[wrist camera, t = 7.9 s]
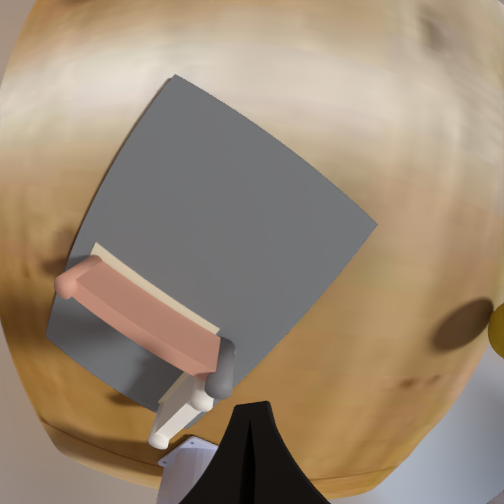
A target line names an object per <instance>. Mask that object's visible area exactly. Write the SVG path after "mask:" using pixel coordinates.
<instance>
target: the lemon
mask: <svg viewBox="0 0 504 504" xmlns="http://www.w3.org/2000/svg"><path fill="white" fill-rule="evenodd" d="M488 337H489V341H490V344H491V346H492V348H493V349H494V350H495V351H496V353H497V354H499V355H500V356H501V357H502V358H504V303H503V304H501V305H500V306H499V307H498V308H497V309H496V310H495V311H493V312H492V313H491V314H490V321H489V325H488Z"/></svg>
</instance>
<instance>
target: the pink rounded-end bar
mask: <svg viewBox="0 0 504 504" xmlns="http://www.w3.org/2000/svg"><path fill="white" fill-rule="evenodd" d="M54 287H55V290H56V292H57V294H58V295H59V296H60V297H61V298H63V299H69V298H70V297H71V296H72V297H73V298H74V299H76V300H77V301H78V302H79V303H81V304H82V305H83V306H85V307H86V308H87V309H89V310H90V311H91V312H92V313H94V314H95V315H97V316H98V317H99V318H101V319H102V320H103V321H105V322H106V323H108V324H109V325H110V326H112V327H113V328H115V329H116V330H118V331H119V332H121V333H122V334H123V335H125V336H126V337H128V338H130V339H131V340H133V341H134V342H136V343H137V344H139V345H140V346H142V347H144V348H145V349H147V350H148V351H150V352H152V353H153V354H155V355H157V356H158V357H160V358H162V359H163V360H165V361H167V362H168V363H170V364H172V365H174V366H175V367H177V368H179V369H181V370H183V371H185V372H186V373H188V374H190V375H192V376H194V377H196V378H198V379H200V380H202V381H203V382H205V387H204V390H205V393H206V394H207V395H208V396H209V397H211V398H214V399H226V398H228V397H229V396H230V395H231V394H232V387H233V371H234V356H235V345H234V343H233V342H232V341H230V340H229V339H225V338H220V337H218V336H217V335H215V334H213V333H212V332H210V331H208V330H206V329H205V328H203V327H201V326H200V325H198V324H196V323H195V322H193V321H191V320H190V319H188V318H186V317H185V316H183V315H182V314H180V313H178V312H177V311H175V310H174V309H172V308H170V307H169V306H167V305H166V304H164V303H163V302H161V301H160V300H158V299H157V298H155V297H154V296H152V295H151V294H149V293H148V292H146V291H145V290H143V289H142V288H140V287H139V286H137V285H136V284H134V283H133V282H132V281H130V280H129V279H127V278H126V277H124V276H123V275H122V274H120V273H119V272H117V271H116V270H115V269H113V268H112V267H111V266H109V265H108V264H106V263H105V262H104V261H103V260H102V259H101V258H100V257H99V256H97V255H92V256H90V257H88V258H87V259H85V260H83V261H82V262H80V263H78V264H77V265H75V266H74V267H72V268H70V269H69V270H67V271H66V272H64V273H63V274H61V275H59V276H58V277H56V278H55V281H54Z"/></svg>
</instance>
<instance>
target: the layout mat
mask: <svg viewBox="0 0 504 504" xmlns="http://www.w3.org/2000/svg"><path fill="white" fill-rule="evenodd" d="M377 225H378V224H377V223H376V222H375V221H374V220H373V219H372V218H371V217H370V216H369V215H368V214H366V213H365V212H364V211H363V210H362V209H361V208H360V207H359V206H358V205H357V204H356V203H354V202H353V201H352V200H351V199H350V198H349V197H348V196H347V195H346V194H344V193H343V192H342V191H341V190H340V189H339V188H337V187H336V186H335V185H334V184H333V183H332V182H330V181H329V180H328V179H327V178H326V177H324V176H323V175H322V174H321V173H320V172H318V171H317V170H316V169H315V168H314V167H312V166H311V165H310V164H309V163H307V162H306V161H305V160H303V159H302V158H301V157H300V156H298V155H297V154H296V153H294V152H293V151H292V150H291V149H289V148H288V147H287V146H285V145H284V144H283V143H281V142H280V141H279V140H277V139H276V138H274V137H273V136H272V135H270V134H269V133H268V132H266V131H265V130H263V129H262V128H261V127H259V126H258V125H256V124H255V123H253V122H252V121H250V120H249V119H248V118H246V117H245V116H243V115H242V114H240V113H239V112H237V111H236V110H234V109H232V108H231V107H229V106H228V105H226V104H225V103H223V102H222V101H220V100H218V99H217V98H215V97H214V96H212V95H210V94H209V93H207V92H205V91H204V90H202V89H200V88H199V87H197V86H195V85H194V84H192V83H190V82H188V81H187V80H185V79H183V78H181V77H179V76H178V75H176V74H175V75H174V76H173V77H172V78H171V80H170V81H169V82H168V83H167V85H166V86H165V87H164V88H163V90H162V91H161V92H160V94H159V95H158V96H157V98H156V99H155V100H154V102H153V103H152V104H151V106H150V107H149V109H148V110H147V111H146V113H145V114H144V116H143V117H142V119H141V120H140V121H139V123H138V124H137V126H136V127H135V129H134V130H133V132H132V134H131V135H130V137H129V138H128V140H127V141H126V143H125V145H124V146H123V148H122V150H121V151H120V153H119V155H118V156H117V158H116V160H115V161H114V163H113V165H112V167H111V168H110V170H109V172H108V174H107V176H106V177H105V179H104V181H103V183H102V185H101V187H100V189H99V191H98V193H97V195H96V197H95V199H94V201H93V203H92V205H91V207H90V209H89V211H88V213H87V215H86V218H85V220H84V222H83V224H82V227H81V229H80V231H79V234H78V236H77V238H76V241H75V243H74V246H73V248H72V251H71V253H70V256H69V259H68V261H67V264H66V267H65V270H64V272H66V271H67V270H69V269H70V268H72V267H74V266H75V265H77V264H78V263H80V262H82V261H83V260H85V259H87V258H88V257H90V256H92V255H97V256H99V257H100V258H101V259H102V260H103V261H104V262H105V263H106V264H108V265H109V266H111V267H112V268H113V269H115V270H116V271H117V272H119V273H120V274H122V275H123V276H124V277H126V278H127V279H129V280H130V281H132V282H133V283H134V284H136V285H137V286H139V287H140V288H142V289H143V290H145V291H146V292H148V293H149V294H151V295H152V296H154V297H155V298H157V299H158V300H160V301H161V302H163V303H164V304H166V305H167V306H169V307H170V308H172V309H174V310H175V311H177V312H178V313H180V314H182V315H183V316H185V317H186V318H188V319H190V320H191V321H193V322H195V323H196V324H198V325H200V326H201V327H203V328H205V329H206V330H208V331H210V332H212V333H213V334H215V335H217V336H218V337H220V338H225V339H229V340H230V341H232V342H233V343H234V345H235V356H234V371H233V387H232V389H233V388H234V387H235V386H236V385H237V384H238V383H239V382H240V381H241V380H242V379H243V378H244V377H245V376H246V375H247V374H248V373H249V372H250V371H251V370H252V369H253V368H254V367H255V366H256V365H257V364H258V363H259V362H260V361H261V360H262V359H263V358H264V357H265V356H266V355H267V354H268V353H269V352H270V351H271V350H272V349H273V348H274V347H275V346H276V345H277V344H278V343H279V342H280V341H281V340H282V339H283V337H284V336H285V335H286V334H287V333H288V332H289V331H290V330H291V329H292V328H293V327H294V326H295V324H296V323H297V322H298V321H299V320H300V319H301V318H302V317H303V316H304V315H305V313H306V312H307V311H308V310H309V309H310V308H311V307H312V305H313V304H314V303H315V302H316V301H317V300H318V299H319V297H320V296H321V295H322V294H323V293H324V292H325V290H326V289H327V288H328V287H329V286H330V284H331V283H332V282H333V281H334V280H335V278H336V277H337V276H338V275H339V274H340V272H341V271H342V270H343V269H344V267H345V266H346V265H347V264H348V263H349V261H350V260H351V259H352V257H353V256H354V255H355V254H356V252H357V251H358V250H359V249H360V247H361V246H362V245H363V243H364V242H365V241H366V239H367V238H368V237H369V236H370V234H371V233H372V232H373V230H374V229H375V228H376V226H377ZM64 272H63V273H64ZM45 337H47V338H48V339H49V340H50V341H51V342H52V343H53V344H55V345H56V346H57V347H58V348H59V349H61V350H62V351H63V352H64V353H65V354H67V355H68V356H69V357H70V358H72V359H73V360H74V361H76V362H77V363H78V364H80V365H81V366H82V367H84V368H85V369H86V370H88V371H89V372H90V373H92V374H93V375H95V376H96V377H97V378H99V379H100V380H102V381H103V382H105V383H106V384H108V385H109V386H111V387H112V388H114V389H115V390H117V391H119V392H120V393H122V394H123V395H125V396H127V397H128V398H130V399H132V400H133V401H135V402H137V403H138V404H140V405H142V406H144V407H145V408H147V409H149V410H151V411H153V412H154V413H156V417H155V420H154V423H153V426H152V429H151V432H150V435H149V439H148V443H149V444H150V445H151V446H153V447H155V448H158V449H166V448H167V447H168V443H169V439H171V438H172V437H173V436H174V435H175V434H176V433H178V432H179V431H180V430H181V429H182V428H183V427H184V428H186V429H188V428H189V427H191V426H192V425H193V424H194V423H195V422H196V421H198V420H199V419H200V418H201V417H202V416H203V415H204V414H206V413H207V412H208V411H209V410H211V409H212V407H213V406H214V405H216V404H217V403H218V402H219V401H220V400H221V399H214V398H211V397H209V396H208V395H207V394H206V393H205V390H204V387H205V382H203V381H202V380H200V379H198V378H196V377H194V376H192V375H190V374H188V373H186V372H185V371H183V370H181V369H179V368H177V367H175V366H174V365H172V364H170V363H168V362H167V361H165V360H163V359H162V358H160V357H158V356H157V355H155V354H153V353H152V352H150V351H148V350H147V349H145V348H144V347H142V346H140V345H139V344H137V343H136V342H134V341H133V340H131V339H130V338H128V337H126V336H125V335H123V334H122V333H121V332H119V331H118V330H116V329H115V328H113V327H112V326H110V325H109V324H108V323H106V322H105V321H103V320H102V319H101V318H99V317H98V316H97V315H95V314H94V313H92V312H91V311H90V310H89V309H87V308H86V307H85V306H83V305H82V304H81V303H79V302H78V301H77V300H76V299H74V298H73V297H72V296H71V297H70V298H69V299H63V298H61V297H60V296H59V295H58V294H56V297H55V300H54V304H53V307H52V311H51V315H50V318H49V322H48V326H47V330H46V335H45Z"/></svg>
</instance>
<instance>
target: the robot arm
mask: <svg viewBox="0 0 504 504" xmlns="http://www.w3.org/2000/svg"><path fill="white" fill-rule="evenodd" d="M158 465H160V466H162V467H164V471H163V475H162V479H161V484H160V488H159V493H158V497H157V504H331V503H329V502H328V501H327V500H326V498H325V497H324V496H323V495H322V494H321V493H320V492H319V491H318V490H317V489H316V488H315V487H314V486H313V484H312V483H311V482H310V481H309V479H308V478H307V477H306V476H305V474H304V473H303V472H302V470H301V469H300V468H299V466H298V465H297V463H296V462H295V460H294V459H293V457H292V455H291V454H290V452H289V451H288V449H287V447H286V445H285V443H284V441H283V440H282V438H281V436H280V433H279V431H278V429H277V427H276V424H275V420H274V416H273V412H272V408H271V404H270V402H268V401H262V402H255V403H248V404H240V405H236V406H235V407H234V409H233V413H232V416H231V419H230V421H229V424H228V427H227V429H226V431H225V434H224V436H223V438H222V440H221V442H220V445H219V446H218V445H215V444H213V443H210V442H208V441H205V440H203V439H200V438H198V437H195V436H191V437H189V438H188V439H187V440H185V441H184V442H183V443H182V444H180V445H179V446H178V447H176V448H175V449H174V450H172V451H171V452H170V453H168V454H167V455H166V456H164V457H163V458H162V459H160V460H159V461H158ZM487 504H504V490H503V491H502V492H501V493H499V494H498V495H497V496H496V497H494V498H493V499H492V500H490V501H489V502H488V503H487Z"/></svg>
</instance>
